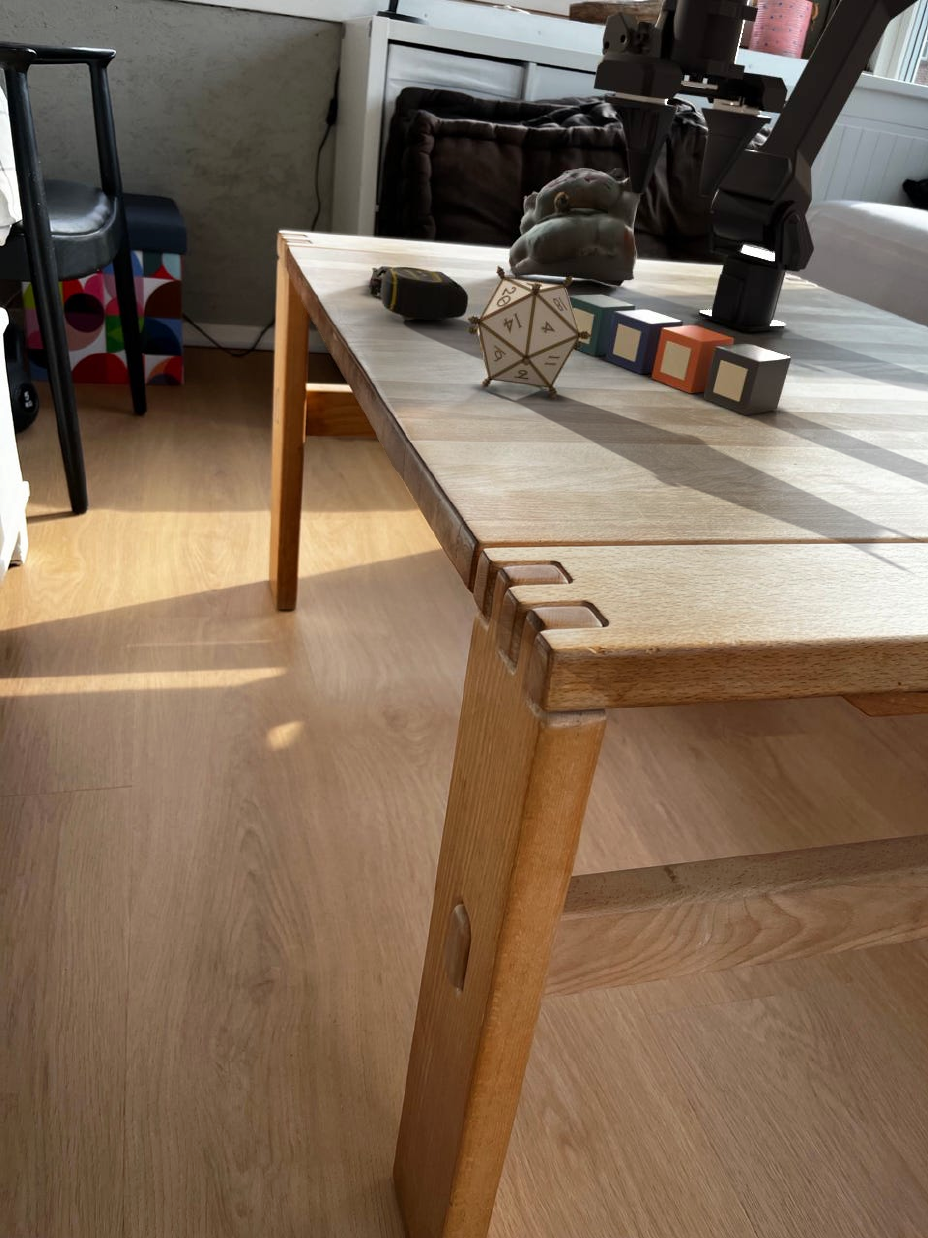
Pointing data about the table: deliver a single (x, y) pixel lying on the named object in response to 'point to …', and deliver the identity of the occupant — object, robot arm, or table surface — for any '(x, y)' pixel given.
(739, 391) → the block
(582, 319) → the block
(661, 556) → the table surface
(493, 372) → the game die
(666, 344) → the loose block
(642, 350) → the block
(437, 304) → the tape measure
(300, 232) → the table surface
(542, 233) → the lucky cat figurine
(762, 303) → the robot arm
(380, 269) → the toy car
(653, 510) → the table surface
